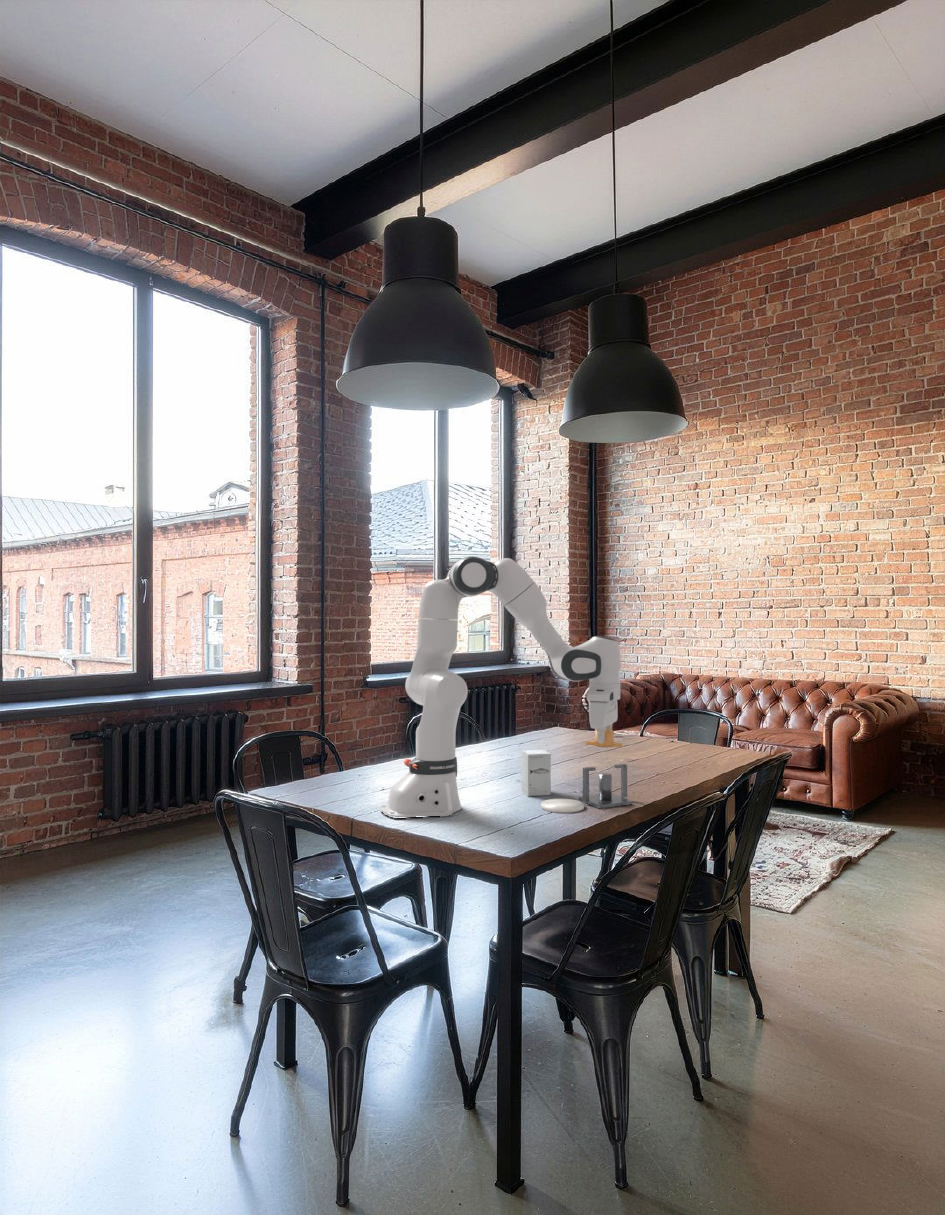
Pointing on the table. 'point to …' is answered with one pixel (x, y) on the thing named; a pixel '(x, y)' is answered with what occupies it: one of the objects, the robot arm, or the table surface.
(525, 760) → the supplement box
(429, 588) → the robot arm
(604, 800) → the grey display stand
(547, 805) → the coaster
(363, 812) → the table surface
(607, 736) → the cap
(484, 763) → the table surface
